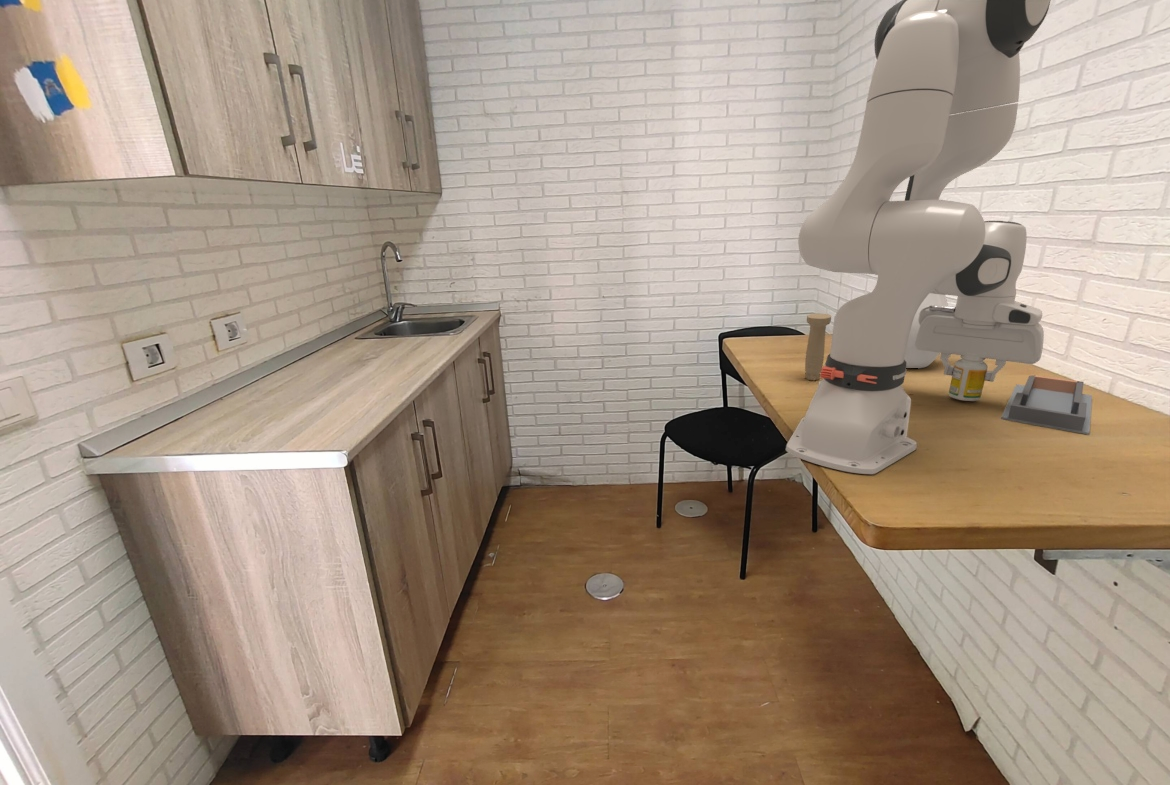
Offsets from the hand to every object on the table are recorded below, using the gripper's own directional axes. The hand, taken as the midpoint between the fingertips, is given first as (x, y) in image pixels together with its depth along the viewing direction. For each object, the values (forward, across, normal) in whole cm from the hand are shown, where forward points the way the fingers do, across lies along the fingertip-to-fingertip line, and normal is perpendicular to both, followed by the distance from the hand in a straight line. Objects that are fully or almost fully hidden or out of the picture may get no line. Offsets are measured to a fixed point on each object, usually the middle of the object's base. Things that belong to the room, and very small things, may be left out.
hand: (968, 377), depth 105 cm
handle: (+5, -29, -4) cm, 30 cm away
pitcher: (+5, -13, +23) cm, 27 cm away
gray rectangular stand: (+5, +13, +4) cm, 14 cm away
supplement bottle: (+4, 0, 0) cm, 4 cm away
